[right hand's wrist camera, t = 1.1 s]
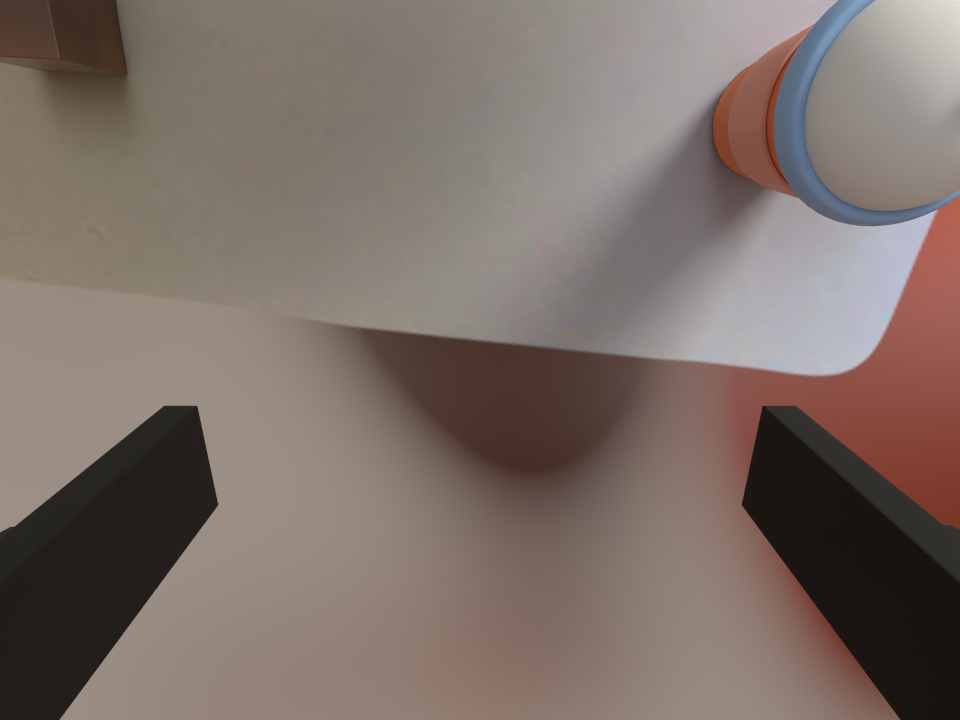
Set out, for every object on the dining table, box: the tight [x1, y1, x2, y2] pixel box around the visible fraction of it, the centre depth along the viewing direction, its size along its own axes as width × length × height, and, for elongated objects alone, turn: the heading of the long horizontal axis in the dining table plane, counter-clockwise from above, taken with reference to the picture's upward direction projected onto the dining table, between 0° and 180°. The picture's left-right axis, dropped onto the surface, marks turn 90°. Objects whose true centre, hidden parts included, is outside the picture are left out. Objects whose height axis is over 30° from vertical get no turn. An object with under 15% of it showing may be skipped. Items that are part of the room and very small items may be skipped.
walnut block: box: [0, 0, 126, 75], centre depth 26 cm, size 4×4×5 cm
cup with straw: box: [713, 0, 960, 226], centre depth 21 cm, size 9×9×18 cm
